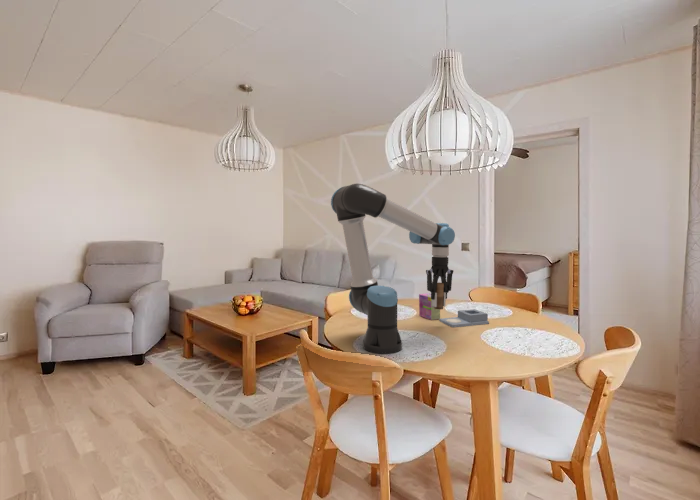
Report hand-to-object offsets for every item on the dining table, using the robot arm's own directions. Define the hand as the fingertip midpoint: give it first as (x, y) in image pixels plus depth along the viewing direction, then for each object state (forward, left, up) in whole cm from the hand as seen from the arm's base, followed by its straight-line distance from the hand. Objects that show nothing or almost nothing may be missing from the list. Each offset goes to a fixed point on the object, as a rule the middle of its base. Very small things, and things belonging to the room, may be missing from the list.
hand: (438, 306), depth 163 cm
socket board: (+3, -16, -10) cm, 19 cm away
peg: (0, 0, -1) cm, 1 cm away
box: (+17, -5, -10) cm, 20 cm away
